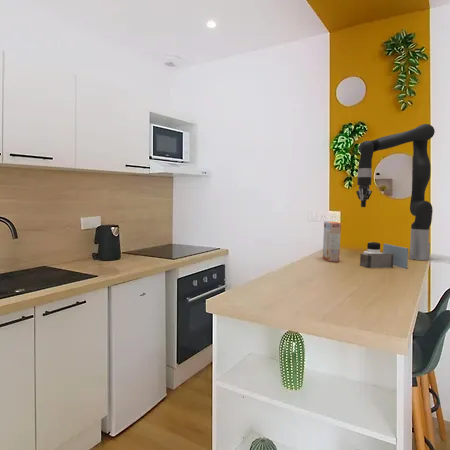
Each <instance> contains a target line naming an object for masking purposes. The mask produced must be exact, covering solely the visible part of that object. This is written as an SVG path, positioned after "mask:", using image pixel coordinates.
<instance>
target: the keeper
mask: <svg viewBox="0 0 450 450" xmlns="http://www.w3.org/2000/svg"><path fill="white" fill-rule="evenodd" d="M359 257H360V258H359V266H361V267H363V268H367V269H385V268H387V269H389V268H390V269H391V268H394V265H393V257H394V254H393V253H383V252H381V253H372V254H368V255H366V254H364V253H360V255H359Z"/></svg>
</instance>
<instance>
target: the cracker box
mask: <svg viewBox="0 0 450 450" xmlns="http://www.w3.org/2000/svg"><path fill="white" fill-rule="evenodd" d="M341 232H342V222H336V221H324V222H323V239H322V240H323V241H322V242H323V243H322V259H324V260H326V261H327V262H330V263H340V253H341V251H340V250H341V234H342V233H341Z"/></svg>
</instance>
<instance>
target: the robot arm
mask: <svg viewBox="0 0 450 450" xmlns="http://www.w3.org/2000/svg"><path fill="white" fill-rule="evenodd" d="M435 132H436V131H435V128H434V127H433V125H432V124H429V123H423V124H420V125H418V126H417V127H414V128H412V129H409V130H406V131H403V132H398V133H394V134H390V135H384V136H382V137H379V138H375V139H373V140H364V141H363V142H361V143H360V144H359V146H358V149H357V150H358V152H359V154H360V157H359V160H358V167H357V168H358V170H357V183H356V184H357V186H358V190H356V192H355V193H356V196H357V197H358V199H359V200H360V207H361V208H366V206H367V200H369V199H370V198H371V194H372V193H373V190H370V186H371V185H372V180H373V179H372V178H373V177H372V175H373V172H372V171H373V170H372V165H373V164H372V163H373V162H372V160H373V154H374V153H375V152H378V151H383V150H388V149H392V148H394V147H398V146H401V145H404V144H407V143H412V150H413V151H412V168H411V197H410V202H409V211H410V214H411V215H412V216H413V217H415V218H414V220H413V222H412V223H411V225H410V244H409V259H410V260H414V259H415V260H416V261H429V260H430V255H431V254H430V252H431V243H430V226H431V225H432V221H433V206H432V203H431V202H430V201H427V200H425V198H426V197H425V195H426V194H425V193H426V190H427V187H428V185H429V183H430V180H431V179H430V178H431V172H432V170H431V169H432V168H431V167H432V166H431V159H430V158H429V157H430V156H429V154H428V144H429V140H431V139H433V137H434V135H435Z"/></svg>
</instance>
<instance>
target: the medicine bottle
mask: <svg viewBox="0 0 450 450" xmlns="http://www.w3.org/2000/svg"><path fill="white" fill-rule="evenodd" d="M366 245H367V246H366V247H367V249H366V250H364V251H363V254H366V255H368V254H372V253H382V252H380V251H381V243H379V242H376V241H370V242H368V243H367V244H366Z"/></svg>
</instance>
